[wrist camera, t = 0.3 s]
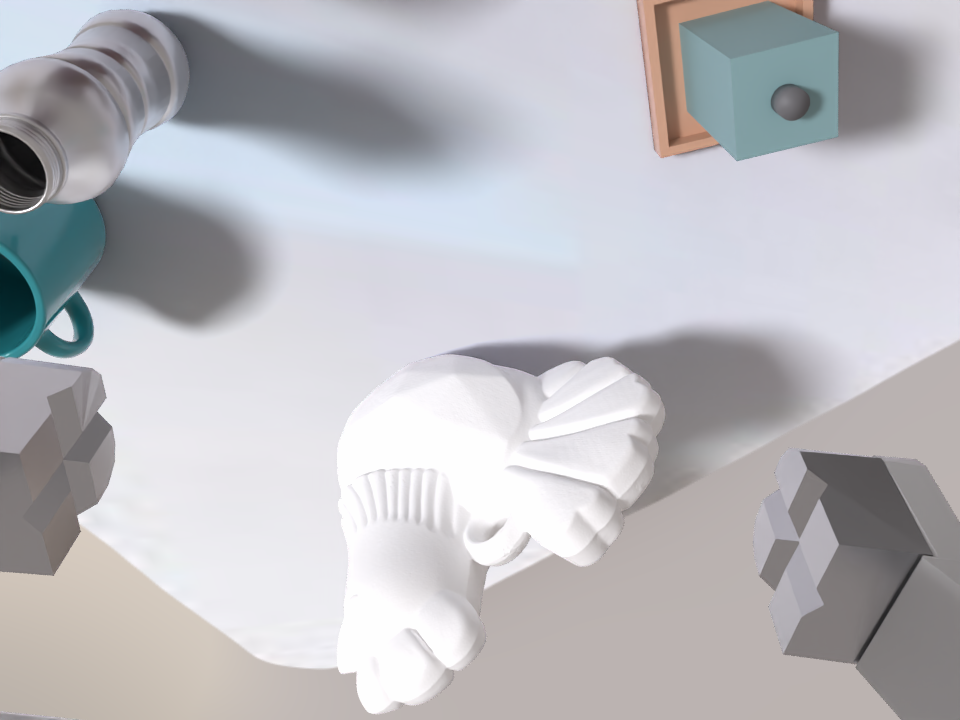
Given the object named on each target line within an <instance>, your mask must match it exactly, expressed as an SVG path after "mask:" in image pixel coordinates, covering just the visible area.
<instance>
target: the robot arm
mask: <svg viewBox="0 0 960 720" xmlns="http://www.w3.org/2000/svg"><path fill="white" fill-rule="evenodd" d="M106 398H107V397H106V393H105V389H104V385H103V381H102V376H101V374H99V373H98V372H97V371H95V370H94V369H92V368H86V367H79V366H72V365H64V364H57V363H49V362H42V361H35V360H27V359H20V358H12V357H8V358H5V357H2V356H0V571H2V572H15V573H28V574H39V575H52V576H54V574H55V572H56V571H57V569H58V568H59V566H60V564H61V563H62V561H63V559H64V558H65V556H66V555H67V553H68V551H69V550H70V548H71V547H72V545H73V543H74V542H75V540H76V538H77V537H78V535H79V533H80V532H81V531H80V527H79V522H78V518H77V515H78V514H80V513H82V512H84V511H85V510H87V509H89V508H91V507H92V506H94V505H96V504H98V502H99V500H100V499H101V497H102V495H103V493H104V492H105V490H106V488H107V486H108V484H109V480H110V477H111V473H112V470H113V466H114V462H115V440H114V434H113V429H112V426H111V425H110V424H109V423H108V422H107V421H106V420H105V419H104V418H103V417H102V416H101V415H100V414H99V413H98V412H97V411H98V409H99V408H100V406H101V405H102V403H103V402H104V400H105V399H106ZM774 473H775V476H776V479H777V482H778V485H779V488H780V489H778V490H777V491H775V492H774V493H772V494H771V495H769V496H768V497H766V498H765V499H763V501H762V503H761V506H760V509H759V512H758V514H757V517H756V520H755V528H754V537H753V547H754V557H755V562H756V565H757V569H758V573H759V576H760V577H761V578H762V579H763V580H764V581H765V582H766V583H767V584H768V585H769V586H770V587H771V588H772V589H773V590H775V593H774V595H773V598H772V600H771V602H770V604H769V606H768V607H769V610H770V613H771V616H772V620H773V623H774V627H775V630H776V633H777V636H778V640H779V643H780V646H781V649H782V653H783V654H784V655H791V656H799V657H807V658H814V659H822V660H829V661H836V662H843V663H851V664H857V666H856V669H857V670H858V671H859V672H860V673H861V675H862V676H863V677H864V678H865V679H866V680H867V681H868V682H869V684H870V685H871V686H872V687H873V688H874V689H875V690H876V692H877V693H878V694H879V695H880V696H881V697H882V698H883V700H884V701H885V702H886V703H887V704H888V705H889V706H890V707H891V709H892V710H893V711H894V712H895V713H896V714H897V715H898V717H899V718H900V719H901V720H960V522H959V520H958V519H957V517H956V515H955V514H954V512H953V510H952V509H951V507H950V505H949V504H948V502H947V501H946V499H945V497H944V495H943V494H942V492H941V490H940V489H939V487H938V485H937V484H936V482H935V480H934V479H933V477H932V475H931V474H930V472H929V470H928V469H927V467H926V466H925V465H923V464H922V463H921V462H919V461H918V460H916V459H907V458H896V457H885V456H872V457H870V456H862V455H853V454H843V453H833V452H824V451H816V450H806V449H797V448H789V449H788V450H787V451H786V452H785V453H784V454H783V455H782V456H781V458H780V461H779V463H778V465H777V467H776V470H775V472H774ZM0 720H79V719H69V718H60V717H50V716H41V715H31V714H21V713H12V712H2V711H0Z"/></svg>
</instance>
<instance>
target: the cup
mask: <svg viewBox="0 0 960 720" xmlns="http://www.w3.org/2000/svg"><path fill="white" fill-rule="evenodd" d="M105 243H106V230H105V224H104V220H103V217H102V214H101V212H100V210H99V208H98V206H97V204H96V202H95V201H94V199H89V200H86V201H82V202H78V203H74V204H61V205H60V204H52V203H44V204H43V205H42V206H41V207H39V208H37V209H35V210H34V211H31V212H28V213H24V214H8V213H3V212H0V356H2V357H5V358H8V357H12V358H19V357H21V356H23V355H24V354H26V353H27V352H28V351H30V350H31V349H32V348H33V347H34V346H36V347H37V348H38V349H40V350H42V351H43V352H45V353H47V354H49V355H51V356H54V357H57V358H72V357H75V356H78V355H80V354H82V353H83V352H84V351H86V350H87V349H88V347H89V346H90V345H91V343H92V341H93V337H94V326H93V320H92V317H91V314H90V311H89V309H88V307H87V305H86V303H85V302H84V300H83V299H82V297H81V296H80V294H79V293H78V290H79V288H80V287H81V286H82V284H83V283H84V282H85V280H86V279H87V278H88V276H89V275H90V274H91V272H92V271H93V270H94V268H95V267H96V266H97V264H98V263H99V261H100V259H101V257H102V255H103V252H104V248H105ZM63 309H65V310H66V312H67V313H68V315H69V317H70V320H71V322H72V325H73V329H74V337H73V340H72V342H69V341H65V340H63V339H61V338H59V337H57V336H56V335H54V334H53V333H52V332H51V331H50V330H49V327H50V326H51V325H52V323H53V322H54V321H55V319H56V318H57V317H58V315H59V314H60V313H61V311H62V310H63Z"/></svg>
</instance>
